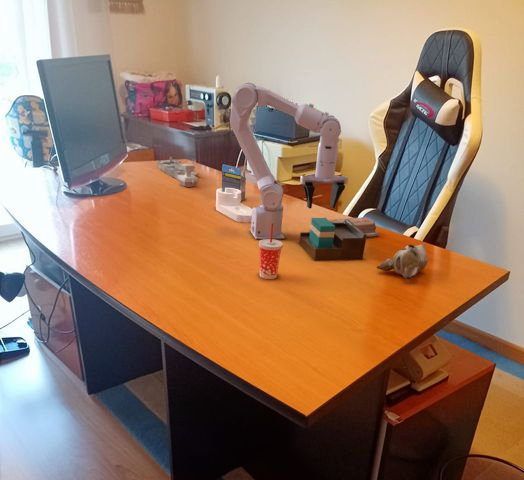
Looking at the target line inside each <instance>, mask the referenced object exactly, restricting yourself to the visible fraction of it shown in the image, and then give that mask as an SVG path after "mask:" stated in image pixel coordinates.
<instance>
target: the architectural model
mask: <svg viewBox="0 0 524 480" xmlns="http://www.w3.org/2000/svg"><path fill="white" fill-rule="evenodd" d="M180 164H185V163H183V162H182V161H179V160H177V158H175V159H174V158H173V157H172V156H170V157H169V159H168V160H160V159H159V160H156V166H157V169H159V170H161V171H162V172H164V173H166V174H167V175H168V176H171V177H173V178H175V179H177V176H178V175H185V171H184V170H182V168H181V165H180ZM198 174H199V172H197V171H191V175H194V176H197V175H198Z"/></svg>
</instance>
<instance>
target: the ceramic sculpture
mask: <svg viewBox="0 0 524 480" xmlns="http://www.w3.org/2000/svg"><path fill="white" fill-rule="evenodd" d="M428 262H429V260H428V254H427V250H426V247H425V244H424V243H422V244H419V245H414V244H408V245H405V247H403V248H401V249H399V250H397V251H396V252H395V254H394V255H393V256H392V257H389V258H386V259H385V260H383V261H382V262H381V263H380V264H379V265H377V266H376V269H378V270H381V271H383V272H389V271H392V270H393V272H395V273H396V274H398V275H399V276H402V278H403V279H405V280H413V279H414V278H415V277H416V276H417V275H418V273H419V272H422V271H423V270H424V269H425V268H426V267H427V265H428Z"/></svg>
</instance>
